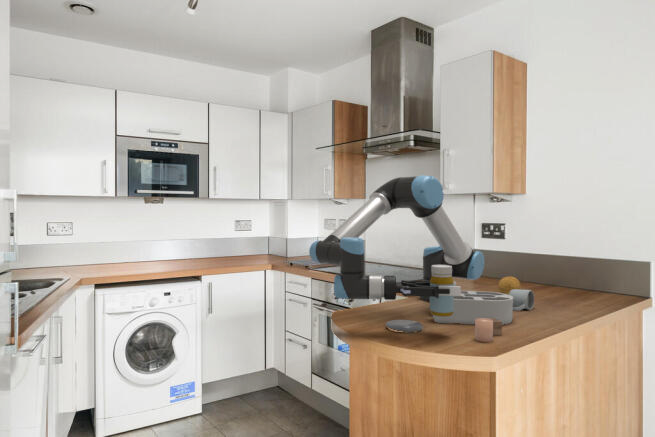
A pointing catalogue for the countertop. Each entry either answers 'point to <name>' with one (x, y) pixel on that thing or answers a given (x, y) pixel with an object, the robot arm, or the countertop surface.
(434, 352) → the countertop surface
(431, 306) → the bottle
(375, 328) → the countertop surface
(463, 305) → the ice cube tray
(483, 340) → the pink rounded block
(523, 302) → the ceramic mug
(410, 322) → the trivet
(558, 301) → the countertop surface
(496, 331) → the walnut block
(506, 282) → the potato
